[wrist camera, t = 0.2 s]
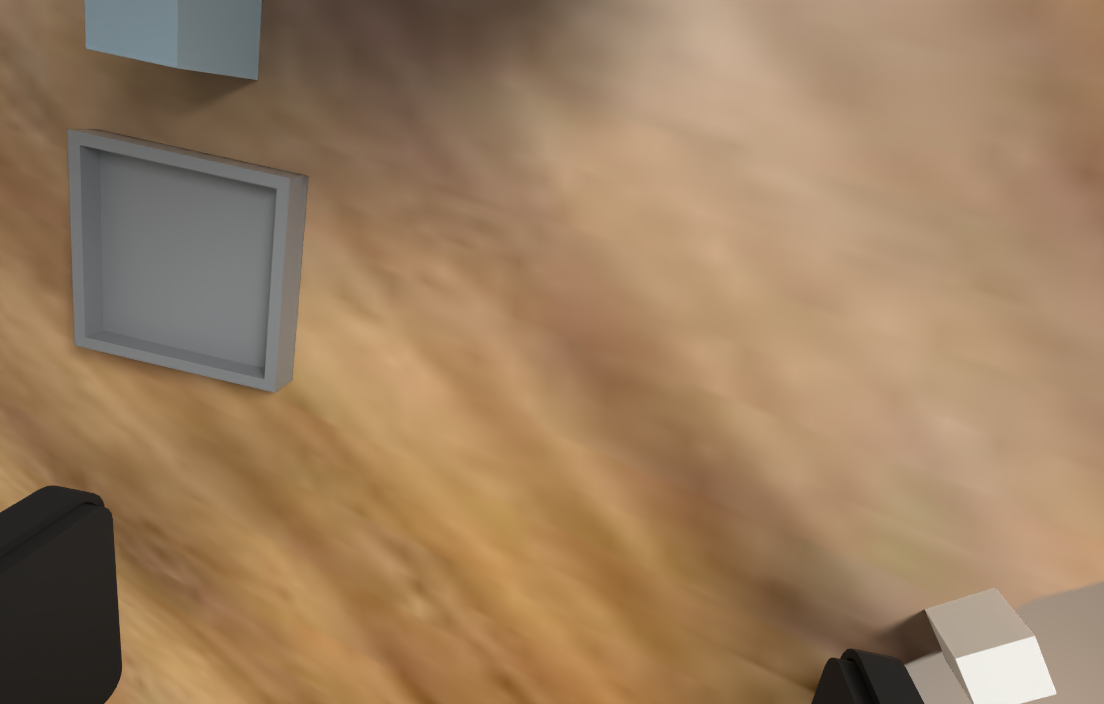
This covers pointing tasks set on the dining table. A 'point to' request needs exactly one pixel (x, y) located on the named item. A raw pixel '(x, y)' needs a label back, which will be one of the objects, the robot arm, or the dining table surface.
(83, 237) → the tray
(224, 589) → the dining table surface
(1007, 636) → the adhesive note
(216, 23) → the slate block
